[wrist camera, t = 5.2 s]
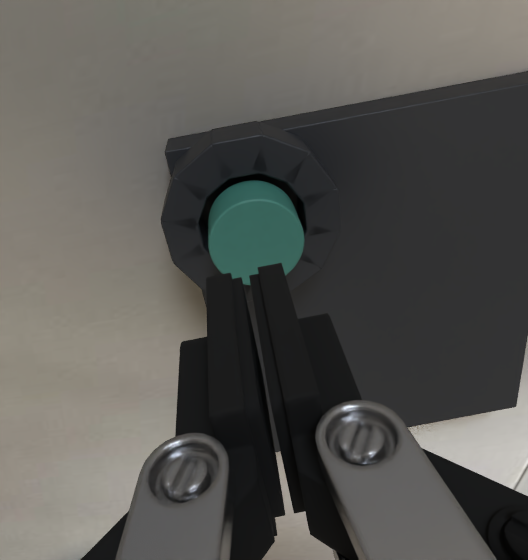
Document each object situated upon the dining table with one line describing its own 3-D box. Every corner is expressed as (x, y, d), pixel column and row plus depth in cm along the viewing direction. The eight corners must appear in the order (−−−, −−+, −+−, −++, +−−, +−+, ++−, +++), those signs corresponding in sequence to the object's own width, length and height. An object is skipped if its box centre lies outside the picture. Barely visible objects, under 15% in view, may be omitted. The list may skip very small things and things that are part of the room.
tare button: (199, 188, 16) (198, 209, 14) (290, 171, 16) (299, 190, 14) (218, 267, 17) (219, 294, 16) (301, 251, 17) (309, 276, 16)
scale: (152, 128, 18) (141, 157, 15) (542, 55, 18) (610, 68, 15) (236, 433, 26) (240, 490, 23) (499, 383, 26) (537, 434, 23)
